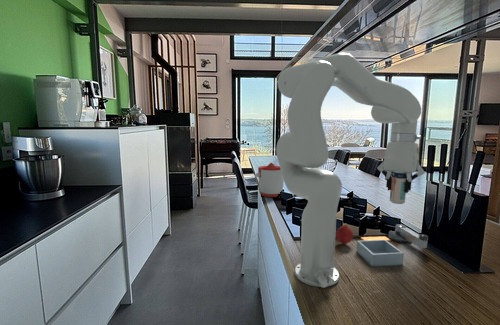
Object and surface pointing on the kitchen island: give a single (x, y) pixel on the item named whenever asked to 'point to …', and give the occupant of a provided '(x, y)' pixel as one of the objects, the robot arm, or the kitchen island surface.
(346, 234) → the onion
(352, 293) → the kitchen island surface
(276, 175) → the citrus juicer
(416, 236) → the crank arm
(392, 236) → the crank base
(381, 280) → the kitchen island surface
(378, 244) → the tray
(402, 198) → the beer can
